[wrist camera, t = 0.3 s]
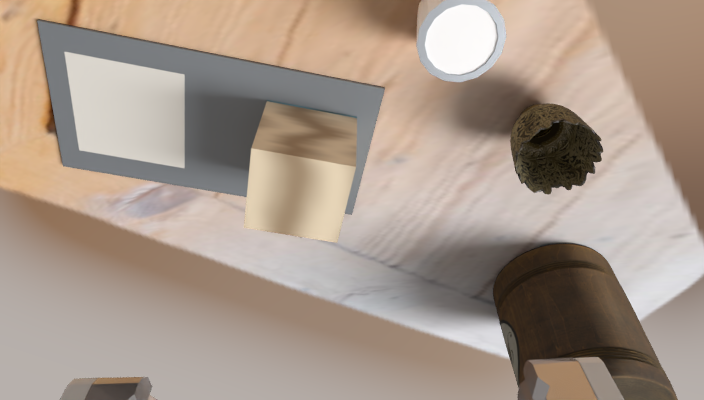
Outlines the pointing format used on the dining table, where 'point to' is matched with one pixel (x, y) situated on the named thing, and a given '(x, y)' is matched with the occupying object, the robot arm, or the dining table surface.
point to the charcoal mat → (179, 108)
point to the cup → (553, 148)
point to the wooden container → (576, 318)
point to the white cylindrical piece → (459, 37)
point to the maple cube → (301, 171)
